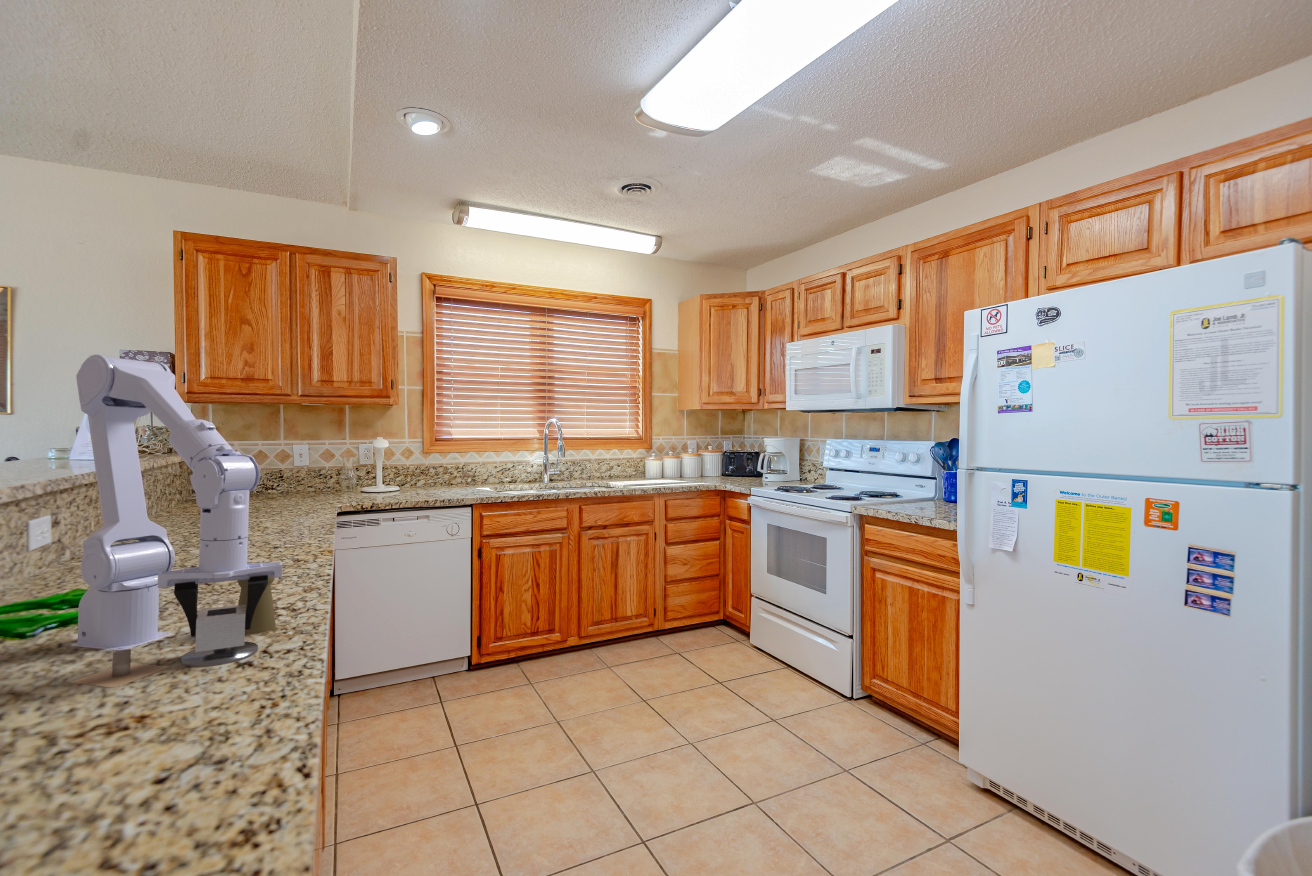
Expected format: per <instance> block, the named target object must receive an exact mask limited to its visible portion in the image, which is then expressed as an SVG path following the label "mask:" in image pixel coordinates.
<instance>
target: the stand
mask: <svg viewBox="0 0 1312 876" xmlns="http://www.w3.org/2000/svg"><path fill="white" fill-rule="evenodd" d="M131 657H132V650H131V648H128V649H124V650H114V651H113V652H112V661H111V663H112V665H111V667H110V668H107V669H104V670H101V671H99V672H95V673H93V674H90V675H87V676H83V677H81V678H77V679H75V680H73V681H69V684H70V683H71V684H79V685H86V686H93V687H94V686H95V687H101V688H103V687H104V688H111V689H115V688H116V689H117V688H118V687H121V686H124V685H126V684H129V683H131V682H134V681H137V680H139V679H142V678H145V677H149V676H151V675H152V674H155V673H158V672H160V671H164V670H166V669H169V668H170V666H164V665H154V664H146V663H145V664H144V663H137V662H136V663H135V662H131Z"/></svg>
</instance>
